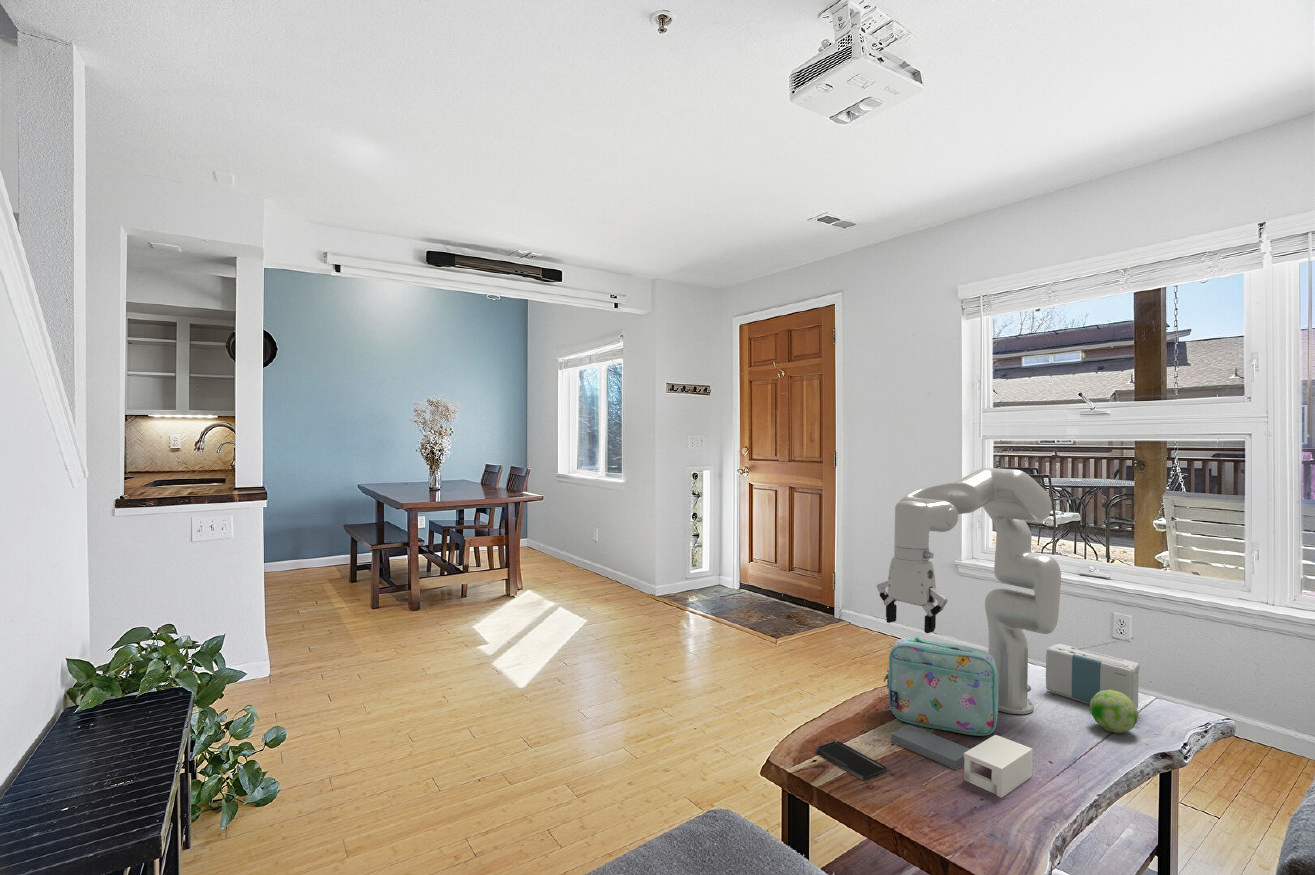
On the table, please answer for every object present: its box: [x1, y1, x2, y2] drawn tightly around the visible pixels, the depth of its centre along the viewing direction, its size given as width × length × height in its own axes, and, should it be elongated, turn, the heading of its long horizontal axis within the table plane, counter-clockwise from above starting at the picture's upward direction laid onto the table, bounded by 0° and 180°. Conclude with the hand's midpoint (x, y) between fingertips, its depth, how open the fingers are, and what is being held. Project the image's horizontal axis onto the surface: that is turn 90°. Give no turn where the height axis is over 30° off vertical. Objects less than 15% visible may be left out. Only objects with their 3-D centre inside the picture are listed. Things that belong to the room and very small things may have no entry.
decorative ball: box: [1089, 690, 1139, 734], centre depth 162 cm, size 10×10×10 cm
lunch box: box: [883, 635, 999, 737], centre depth 165 cm, size 27×10×21 cm, turn 62°
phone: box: [815, 740, 888, 782], centre depth 146 cm, size 8×1×15 cm
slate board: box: [890, 724, 971, 771], centre depth 152 cm, size 8×16×2 cm, turn 37°
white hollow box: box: [963, 734, 1034, 799], centre depth 140 cm, size 14×8×6 cm, turn 127°
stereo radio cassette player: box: [1045, 636, 1141, 709], centre depth 179 cm, size 21×8×20 cm, turn 36°
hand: (909, 626), depth 151 cm, fingers open, 9 cm apart
